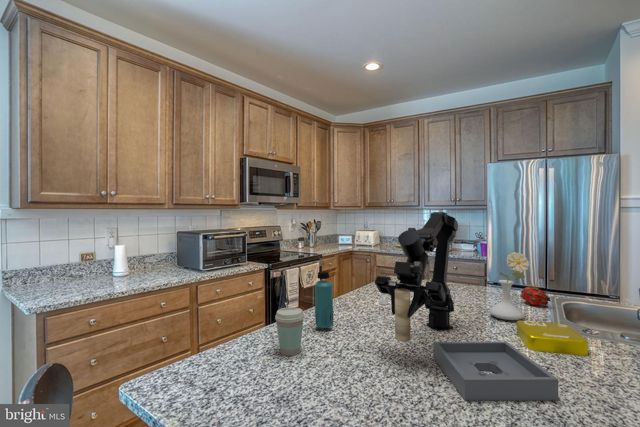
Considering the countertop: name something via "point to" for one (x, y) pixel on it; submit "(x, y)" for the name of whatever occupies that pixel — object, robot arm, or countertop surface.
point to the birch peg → (402, 315)
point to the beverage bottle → (323, 301)
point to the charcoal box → (500, 357)
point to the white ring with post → (383, 301)
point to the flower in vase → (506, 306)
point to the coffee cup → (289, 330)
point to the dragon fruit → (534, 296)
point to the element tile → (552, 338)
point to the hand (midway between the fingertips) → (400, 315)
